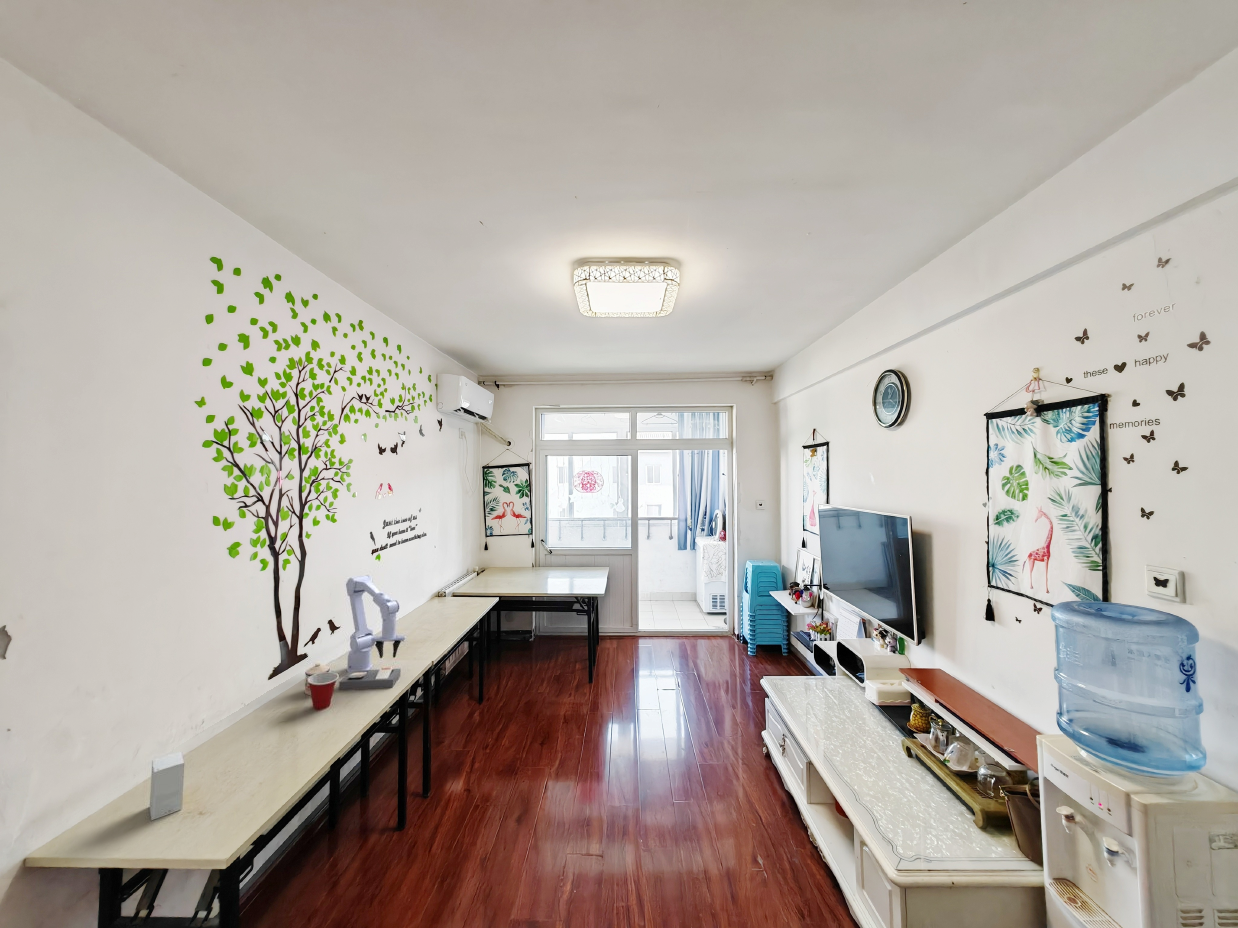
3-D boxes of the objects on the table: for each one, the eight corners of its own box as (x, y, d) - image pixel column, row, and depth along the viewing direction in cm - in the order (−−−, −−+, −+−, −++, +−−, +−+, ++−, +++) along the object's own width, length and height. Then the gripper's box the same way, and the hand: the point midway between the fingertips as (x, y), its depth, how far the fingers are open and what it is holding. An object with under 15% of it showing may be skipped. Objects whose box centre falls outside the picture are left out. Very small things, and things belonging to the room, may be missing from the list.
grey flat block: (338, 689, 208) (339, 681, 208) (349, 678, 219) (349, 670, 220) (392, 687, 211) (392, 679, 211) (400, 675, 223) (400, 668, 223)
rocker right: (375, 680, 212) (375, 678, 212) (381, 669, 220) (380, 667, 220) (387, 680, 213) (387, 677, 213) (392, 668, 221) (392, 666, 221)
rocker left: (348, 677, 210) (348, 674, 211) (355, 674, 218) (355, 672, 218) (360, 677, 211) (361, 674, 211) (366, 674, 219) (367, 671, 219)
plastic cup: (324, 714, 187) (325, 683, 187) (299, 711, 188) (300, 681, 188) (344, 701, 197) (345, 672, 198) (320, 699, 199) (321, 670, 199)
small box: (182, 809, 133) (184, 762, 134) (150, 821, 129) (153, 772, 129) (179, 795, 139) (181, 750, 139) (149, 806, 134) (151, 759, 135)
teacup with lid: (299, 695, 202) (300, 667, 202) (312, 685, 211) (313, 659, 211) (327, 695, 202) (328, 668, 202) (340, 686, 211) (341, 659, 211)
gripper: (369, 630, 217) (368, 660, 216) (403, 629, 219) (402, 659, 219) (374, 625, 224) (373, 655, 223) (407, 625, 226) (406, 653, 226)
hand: (387, 657), depth 221 cm, fingers open, 5 cm apart
